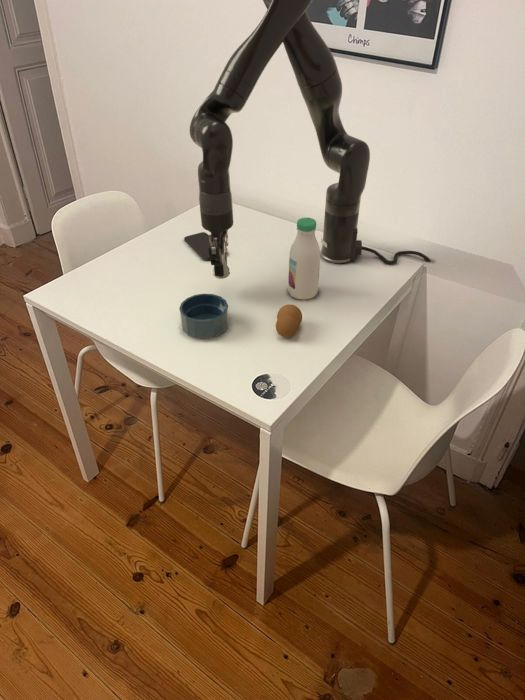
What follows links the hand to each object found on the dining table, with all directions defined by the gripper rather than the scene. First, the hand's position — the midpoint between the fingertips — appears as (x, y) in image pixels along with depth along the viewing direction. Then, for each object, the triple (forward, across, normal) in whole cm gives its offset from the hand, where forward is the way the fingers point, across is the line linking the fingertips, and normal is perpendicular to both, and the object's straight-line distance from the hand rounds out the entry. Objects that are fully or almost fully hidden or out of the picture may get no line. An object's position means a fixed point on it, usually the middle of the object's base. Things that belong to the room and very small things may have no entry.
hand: (221, 270), depth 134 cm
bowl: (+7, -14, +2) cm, 16 cm away
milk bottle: (+7, +3, -21) cm, 22 cm away
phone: (+7, +24, +9) cm, 26 cm away
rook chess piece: (+1, 0, 0) cm, 1 cm away
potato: (+7, -14, -18) cm, 24 cm away
